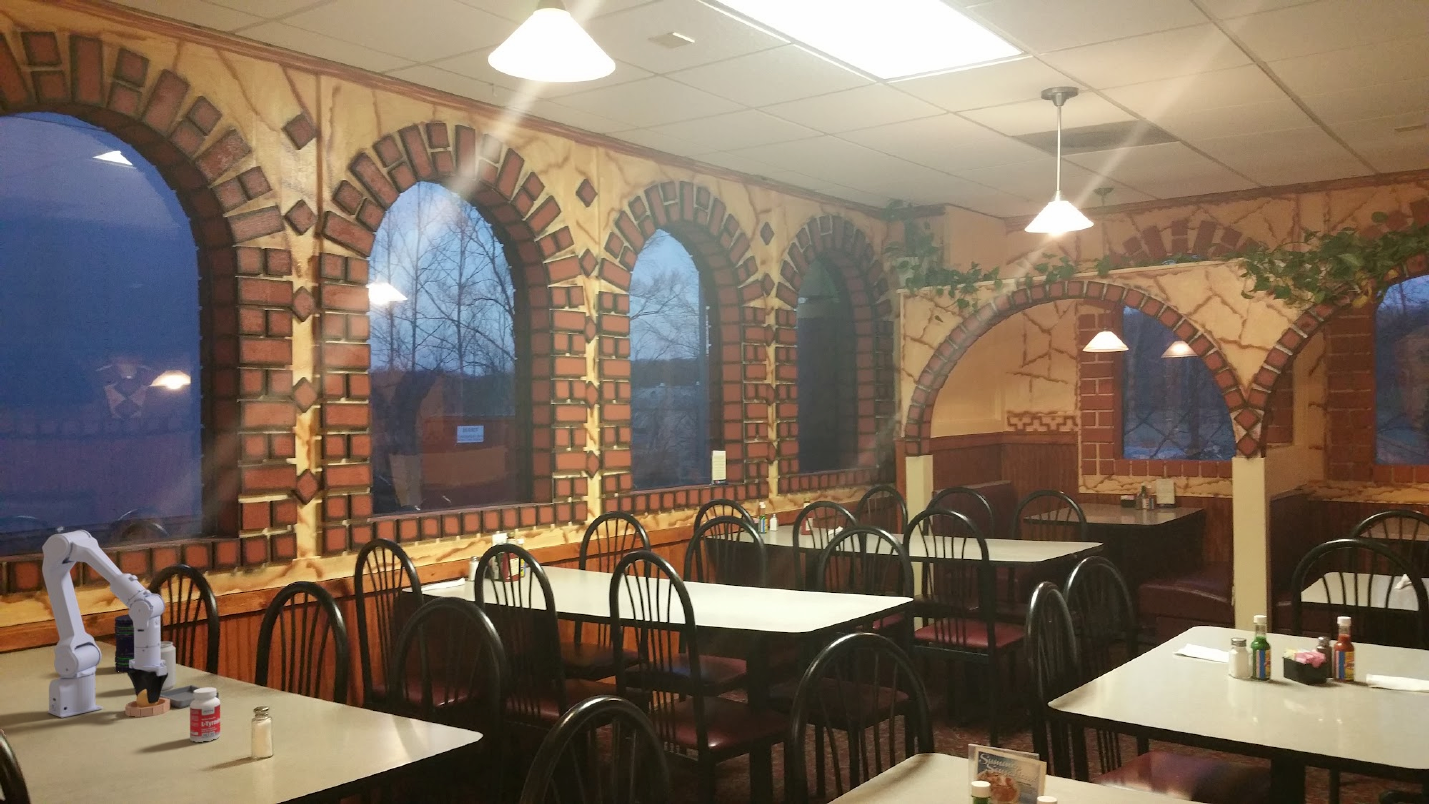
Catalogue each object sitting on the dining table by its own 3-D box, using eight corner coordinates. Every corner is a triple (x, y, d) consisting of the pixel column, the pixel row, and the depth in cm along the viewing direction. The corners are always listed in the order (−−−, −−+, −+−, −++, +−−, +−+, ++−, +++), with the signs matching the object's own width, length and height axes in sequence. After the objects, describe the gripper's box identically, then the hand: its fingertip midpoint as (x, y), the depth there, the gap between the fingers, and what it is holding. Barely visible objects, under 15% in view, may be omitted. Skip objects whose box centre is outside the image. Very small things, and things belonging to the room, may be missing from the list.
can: (166, 692, 281) (166, 646, 281) (138, 692, 281) (137, 646, 281) (181, 684, 288) (181, 640, 288) (153, 684, 288) (153, 640, 288)
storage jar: (122, 665, 310) (121, 613, 310) (158, 663, 312) (158, 612, 312) (109, 673, 301) (108, 620, 301) (147, 672, 302) (146, 619, 302)
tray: (179, 708, 265) (179, 701, 265) (153, 700, 273) (153, 693, 273) (218, 699, 273) (218, 692, 273) (191, 691, 281) (191, 685, 281)
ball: (142, 713, 260) (142, 692, 260) (132, 710, 263) (132, 689, 263) (163, 708, 264) (163, 688, 264) (153, 705, 267) (153, 685, 267)
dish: (137, 719, 257) (137, 710, 257) (118, 712, 262) (118, 704, 262) (177, 709, 264) (177, 701, 264) (157, 703, 270) (157, 695, 270)
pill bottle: (201, 744, 237) (201, 694, 237) (184, 740, 240) (183, 691, 240) (226, 737, 242) (226, 688, 242) (209, 733, 245) (208, 684, 245)
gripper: (178, 645, 262) (179, 701, 262) (149, 638, 271) (149, 692, 271) (149, 651, 257) (150, 708, 257) (120, 643, 265) (120, 698, 265)
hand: (147, 700), depth 263 cm, fingers closed on ball, 5 cm apart
